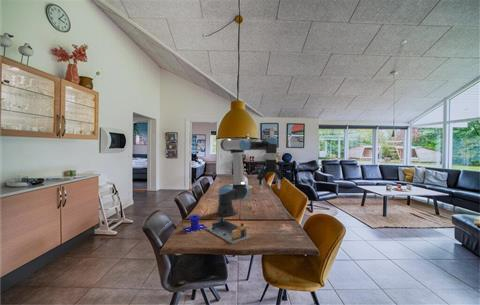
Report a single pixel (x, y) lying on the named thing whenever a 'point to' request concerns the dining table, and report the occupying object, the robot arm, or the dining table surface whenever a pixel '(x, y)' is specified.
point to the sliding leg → (238, 231)
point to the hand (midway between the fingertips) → (270, 189)
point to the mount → (194, 224)
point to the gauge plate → (226, 231)
